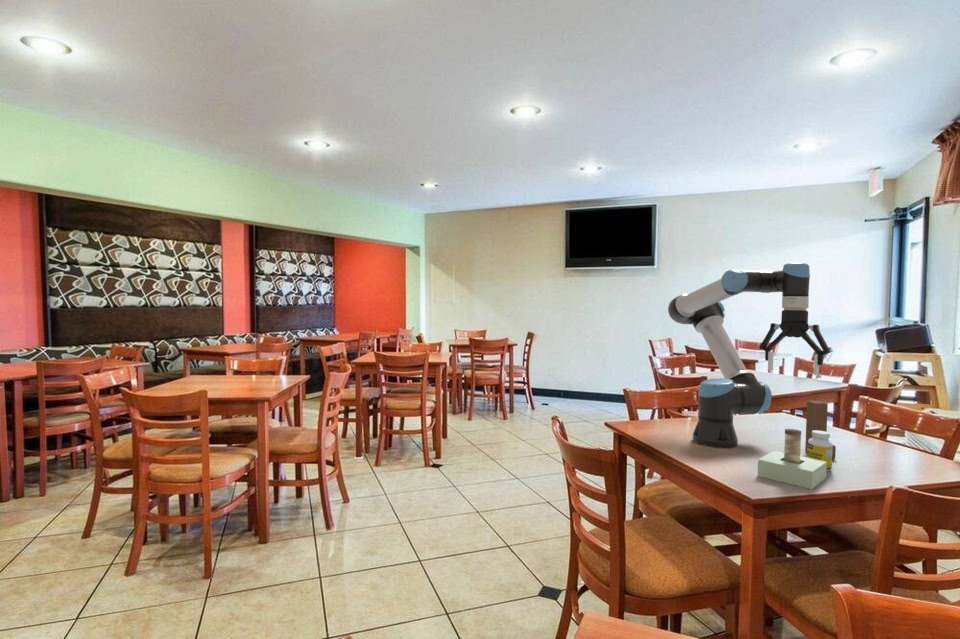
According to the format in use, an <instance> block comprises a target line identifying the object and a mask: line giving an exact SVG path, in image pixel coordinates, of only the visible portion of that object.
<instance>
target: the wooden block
mask: <svg viewBox="0 0 960 639" xmlns="http://www.w3.org/2000/svg"><path fill="white" fill-rule="evenodd" d="M828 407H829V406H828V403H826V402H823V401H821V400H807V401H806V419H805V448H804V449H805V452H806V453H807V450H808V440H809V439H810V438H812V437H813V436H812V431H813V430H818V431H825V432H828V431H827V430H828V429H827V428H828V410H829V408H828ZM836 452H837V448H836V445H834V444H833V451H832V460H835V459H836Z"/></svg>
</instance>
